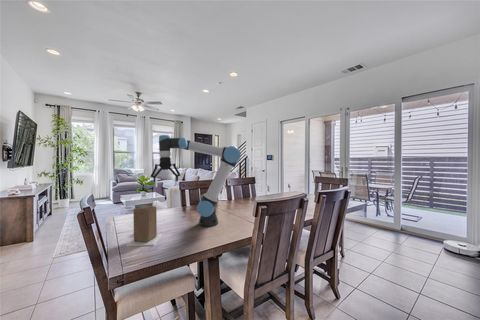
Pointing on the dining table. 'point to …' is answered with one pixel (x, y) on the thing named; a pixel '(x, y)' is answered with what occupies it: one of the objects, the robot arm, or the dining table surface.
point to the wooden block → (145, 223)
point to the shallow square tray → (150, 243)
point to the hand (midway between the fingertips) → (166, 186)
